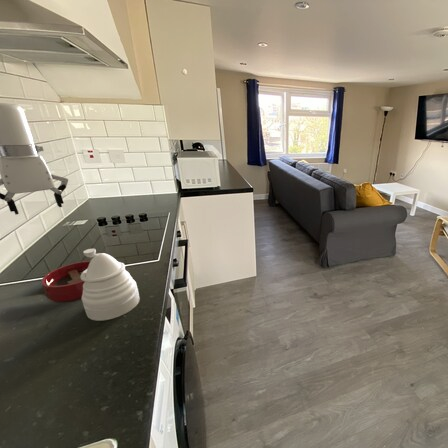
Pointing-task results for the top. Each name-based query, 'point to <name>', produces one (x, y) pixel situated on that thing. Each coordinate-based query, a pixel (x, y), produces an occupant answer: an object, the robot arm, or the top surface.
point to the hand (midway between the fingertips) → (39, 209)
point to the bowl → (64, 291)
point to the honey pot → (107, 287)
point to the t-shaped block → (74, 277)
